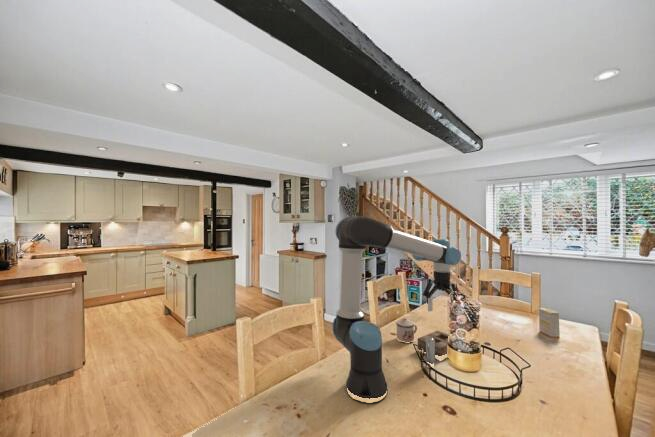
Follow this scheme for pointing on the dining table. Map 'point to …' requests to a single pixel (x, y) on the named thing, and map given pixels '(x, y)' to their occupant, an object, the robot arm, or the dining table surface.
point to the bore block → (439, 342)
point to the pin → (430, 350)
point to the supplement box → (549, 322)
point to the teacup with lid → (405, 330)
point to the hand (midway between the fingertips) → (442, 314)
